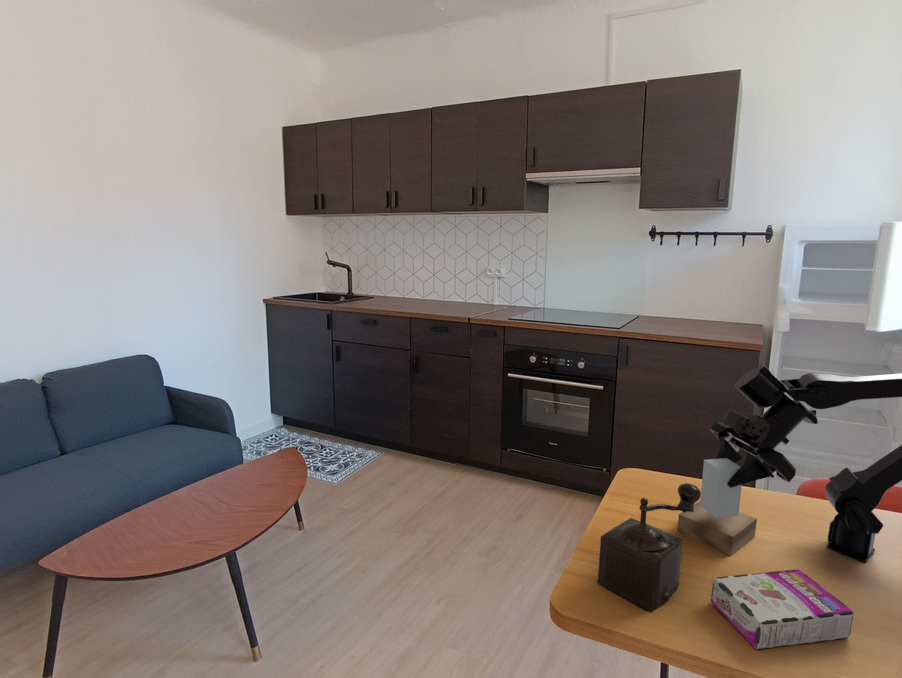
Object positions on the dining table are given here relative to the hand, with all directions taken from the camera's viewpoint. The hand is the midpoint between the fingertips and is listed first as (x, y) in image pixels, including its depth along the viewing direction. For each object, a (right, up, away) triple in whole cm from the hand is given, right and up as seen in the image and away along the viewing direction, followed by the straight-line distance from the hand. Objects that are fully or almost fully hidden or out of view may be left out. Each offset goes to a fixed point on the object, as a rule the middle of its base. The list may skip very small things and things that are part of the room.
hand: (720, 479), depth 107 cm
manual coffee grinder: (-18, -16, -10) cm, 26 cm away
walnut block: (+2, -13, +5) cm, 14 cm away
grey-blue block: (0, -6, +1) cm, 7 cm away
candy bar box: (+7, -15, -19) cm, 26 cm away
